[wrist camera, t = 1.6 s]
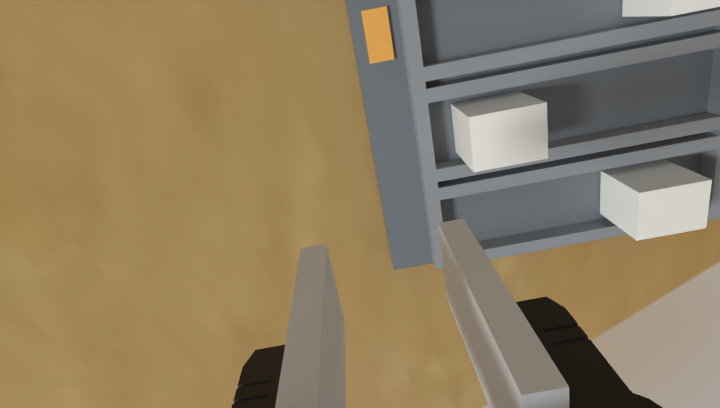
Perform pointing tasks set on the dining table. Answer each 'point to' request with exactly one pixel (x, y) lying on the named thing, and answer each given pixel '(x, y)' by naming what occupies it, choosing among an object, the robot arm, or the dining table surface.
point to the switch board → (545, 82)
